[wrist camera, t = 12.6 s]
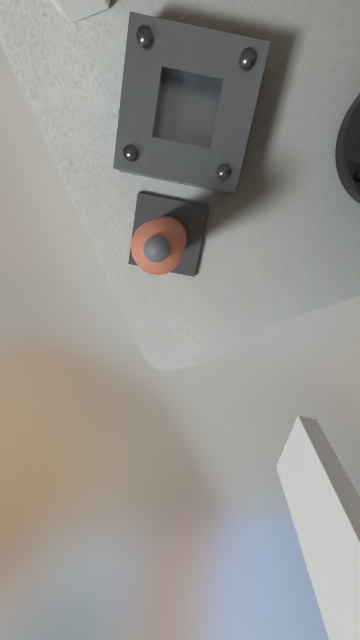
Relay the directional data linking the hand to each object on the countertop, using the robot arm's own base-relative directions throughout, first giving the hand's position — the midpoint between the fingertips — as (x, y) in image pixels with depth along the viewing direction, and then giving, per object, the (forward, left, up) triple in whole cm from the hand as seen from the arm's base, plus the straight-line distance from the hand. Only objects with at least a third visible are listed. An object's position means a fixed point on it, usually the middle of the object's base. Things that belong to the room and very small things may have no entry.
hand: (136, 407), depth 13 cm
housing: (+2, -17, -32) cm, 36 cm away
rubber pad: (+2, -4, -32) cm, 32 cm away
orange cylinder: (+2, -4, -31) cm, 31 cm away
